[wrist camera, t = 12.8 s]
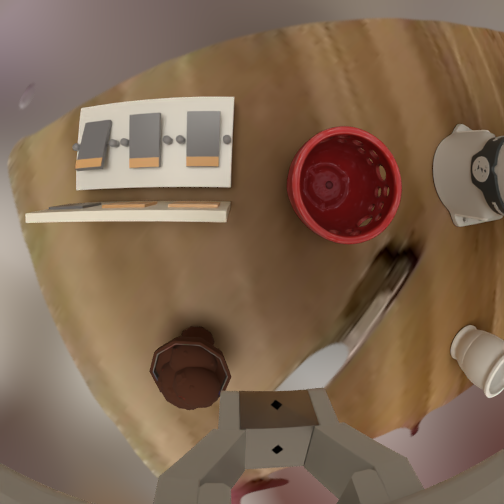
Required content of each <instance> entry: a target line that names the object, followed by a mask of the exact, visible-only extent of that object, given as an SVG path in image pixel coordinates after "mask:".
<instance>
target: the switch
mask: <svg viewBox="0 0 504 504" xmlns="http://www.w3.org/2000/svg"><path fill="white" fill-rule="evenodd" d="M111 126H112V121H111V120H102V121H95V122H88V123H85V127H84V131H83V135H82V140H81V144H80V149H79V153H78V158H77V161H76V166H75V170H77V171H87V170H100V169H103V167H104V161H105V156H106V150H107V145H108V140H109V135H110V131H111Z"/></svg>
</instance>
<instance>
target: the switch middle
mask: <svg viewBox="0 0 504 504" xmlns="http://www.w3.org/2000/svg"><path fill="white" fill-rule="evenodd" d="M155 167H161V113H146V114H134V115H130V120H129V168H155Z"/></svg>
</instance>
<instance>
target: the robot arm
mask: <svg viewBox="0 0 504 504" xmlns="http://www.w3.org/2000/svg"><path fill="white" fill-rule="evenodd" d="M433 177H434V183H435V187H436V190H437V193H438V195H439V197H440V199H441V201H442V203H443V204H444V205H445V206H446V208H447V209H448V210H449V212H450V214H451V217H452V220H453V223H454V224H455V226H458V227H462V226H467V225H472V224H477V223H483V222H488V221H493V220H498V219H501V218H502V217H503V216H504V136H499V137H495V135H494V134H492V133H490V132H489V131H488V130H471V129H470V128H468V127H467V126H465V125H463V124H458V125H456V127H455V128H454V130H453V132H452V134H451V135H449V136H448V137H446V138H445V139H444V140H443V141H442V142H441V143H440V144H439V146H438V148H437V150H436V153H435V156H434V162H433ZM463 218H464V220H463ZM294 466H304V467H305V468H306V469H307V470H308V471H309V472H310V473H311V474H312V475H313V476H314V477H315V478H316V479H317V480H318V481H319V482H321V483H322V484H323V485H324V486H325V487H326V488H327V489H328V490H329V491H330V492H332V493H333V494H334V495H335V496H336V497H337V498H338V499H339V501H338V502H337V504H504V449H502V450H501V451H499V452H497V453H496V454H494V455H493V456H491V457H489V458H487V459H486V460H484V461H482V462H481V463H479V464H477V465H475V466H473V467H471V468H469V469H468V470H466V471H464V472H462V473H460V474H458V475H456V476H454V477H452V478H449V479H447V480H445V481H443V482H441V483H438V484H436V485H434V486H431V487H429V488H427V489H424V488H423V486H422V484H421V482H420V481H419V479H418V477H417V475H416V473H415V471H414V470H413V468H412V466H411V464H410V463H409V461H408V459H407V458H406V457H404V456H402V455H400V454H398V453H396V452H395V451H392V450H391V449H389V448H387V447H385V446H383V445H382V444H380V443H378V442H376V441H375V440H373V439H371V438H369V437H368V436H366V435H364V434H363V433H361V432H359V431H357V430H356V429H354V428H352V427H351V426H349V425H347V424H346V423H339V421H338V419H337V417H336V414H335V412H334V409H333V407H332V405H331V402H330V400H329V398H328V395H327V393H326V391H325V389H324V388H315V389H306V390H295V391H239V392H238V391H221V393H220V408H219V426H218V429H213V430H212V431H210V432H209V433H208V434H207V435H206V436H205V437H204V438H203V439H202V440H201V441H200V442H199V443H197V444H196V445H195V446H194V447H193V448H192V449H191V450H190V451H188V452H187V453H186V454H185V455H184V456H183V457H182V458H180V459H179V460H178V461H177V462H176V463H175V464H173V465H172V466H171V467H170V468H169V469H168V470H166V471H165V472H164V473H163V474H162V475H160V476H159V479H158V483H157V488H156V492H155V498H154V502H153V504H231V489H232V487H233V486H234V485H235V483H236V482H237V481H238V479H239V478H240V476H241V475H242V474H243V472H244V471H245V469H258V468H274V467H294ZM0 504H95V503H91V502H88V501H85V500H82V499H79V498H76V497H73V496H71V495H68V494H65V493H63V492H60V491H57V490H55V489H53V488H50V487H48V486H45V485H43V484H41V483H38V482H36V481H34V480H32V479H30V478H28V477H26V476H24V475H22V474H20V473H18V472H16V471H14V470H12V469H10V468H8V467H6V466H5V465H3V464H1V463H0Z"/></svg>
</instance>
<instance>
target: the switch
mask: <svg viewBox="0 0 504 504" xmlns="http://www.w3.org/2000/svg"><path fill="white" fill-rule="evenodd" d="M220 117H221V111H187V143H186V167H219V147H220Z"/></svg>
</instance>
